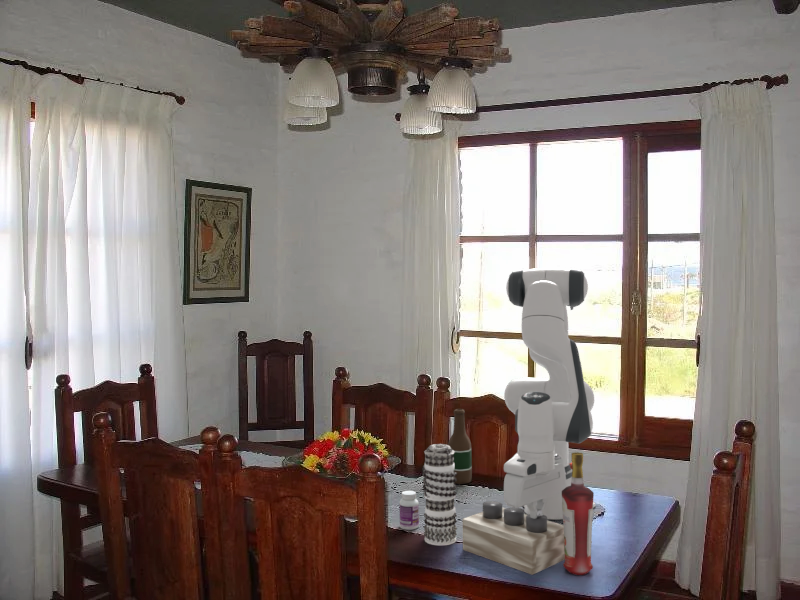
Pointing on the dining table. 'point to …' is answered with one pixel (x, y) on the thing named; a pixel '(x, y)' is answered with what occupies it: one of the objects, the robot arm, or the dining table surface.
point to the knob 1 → (492, 510)
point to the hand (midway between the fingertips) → (536, 517)
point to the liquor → (577, 520)
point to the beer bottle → (461, 449)
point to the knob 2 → (514, 516)
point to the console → (514, 543)
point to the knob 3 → (536, 524)
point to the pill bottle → (409, 511)
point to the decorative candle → (439, 495)
